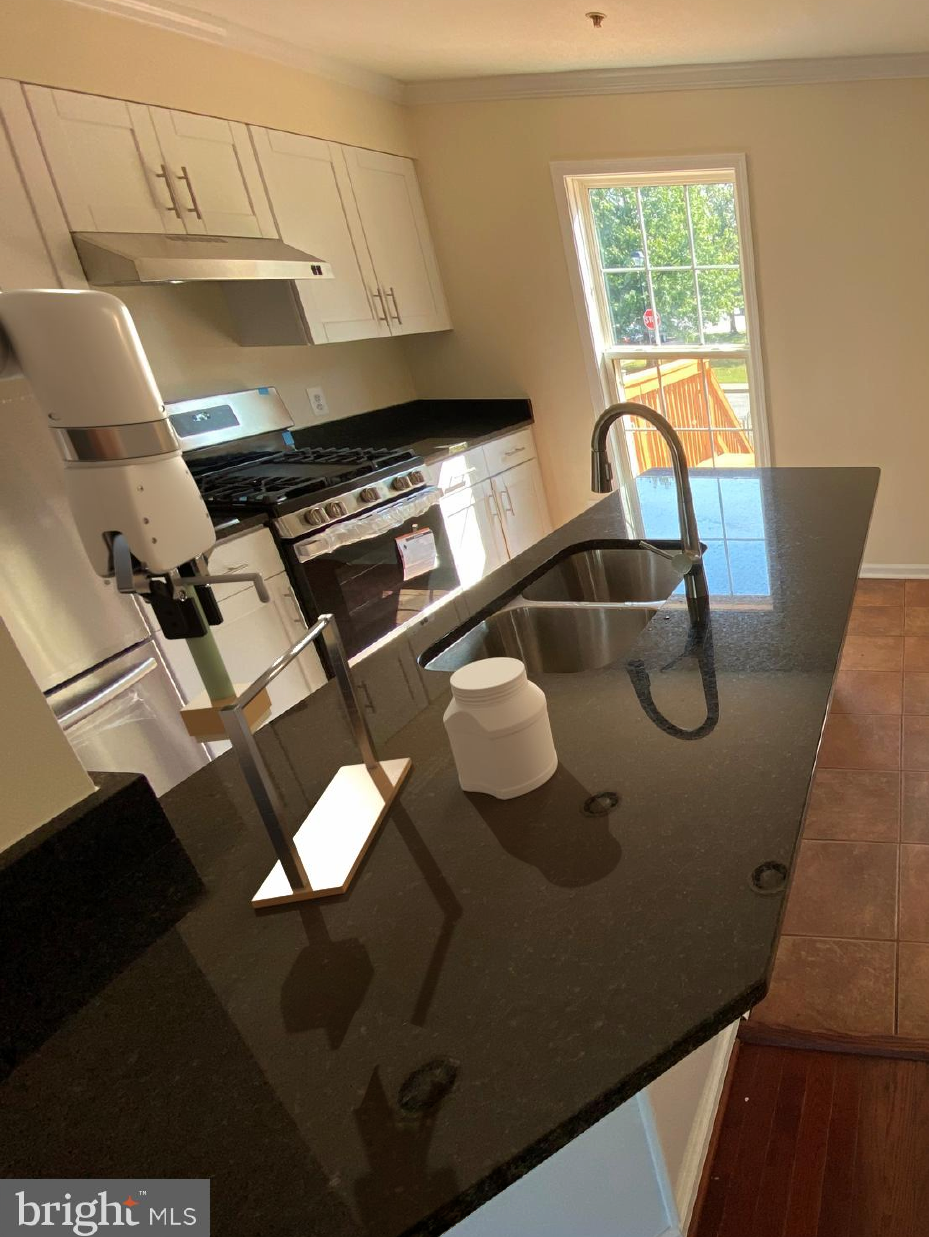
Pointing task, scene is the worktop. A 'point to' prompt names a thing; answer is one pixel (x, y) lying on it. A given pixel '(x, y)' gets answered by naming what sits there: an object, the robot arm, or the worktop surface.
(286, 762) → the worktop surface
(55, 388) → the robot arm
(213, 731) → the hook stand
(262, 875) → the worktop surface
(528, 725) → the jar
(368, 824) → the metal frame rack
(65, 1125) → the worktop surface
